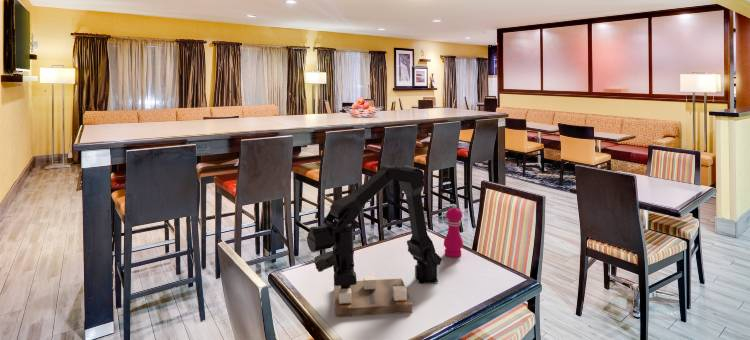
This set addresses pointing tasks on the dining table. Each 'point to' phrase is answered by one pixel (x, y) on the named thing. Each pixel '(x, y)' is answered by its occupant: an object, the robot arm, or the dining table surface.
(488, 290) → the dining table surface
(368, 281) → the tab
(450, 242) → the pepper mill
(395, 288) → the tab
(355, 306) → the switch board
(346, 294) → the tab
